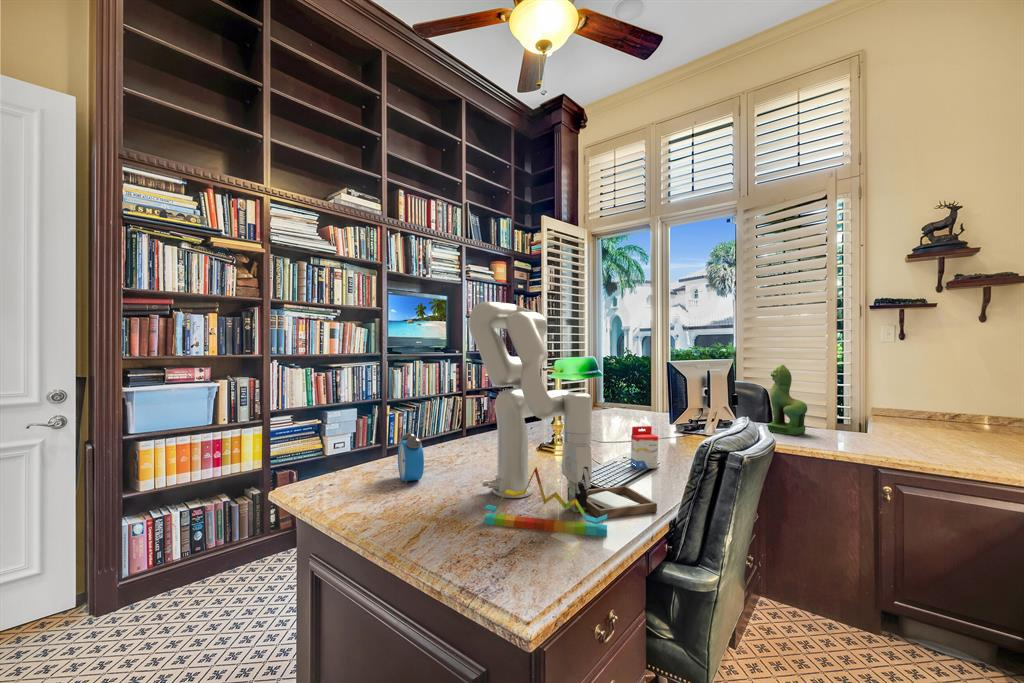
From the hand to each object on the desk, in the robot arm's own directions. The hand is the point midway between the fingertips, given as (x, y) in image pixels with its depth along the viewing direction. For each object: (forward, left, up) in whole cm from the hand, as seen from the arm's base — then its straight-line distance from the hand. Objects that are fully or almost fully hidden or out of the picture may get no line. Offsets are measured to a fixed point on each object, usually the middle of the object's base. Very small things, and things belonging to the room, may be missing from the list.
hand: (576, 503), depth 124 cm
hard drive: (+11, 0, -2) cm, 12 cm away
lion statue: (+150, +64, -2) cm, 163 cm away
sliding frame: (+9, 0, -2) cm, 10 cm away
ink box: (+43, +31, -2) cm, 53 cm away
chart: (-13, -8, -2) cm, 15 cm away
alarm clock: (-41, +39, -2) cm, 57 cm away
